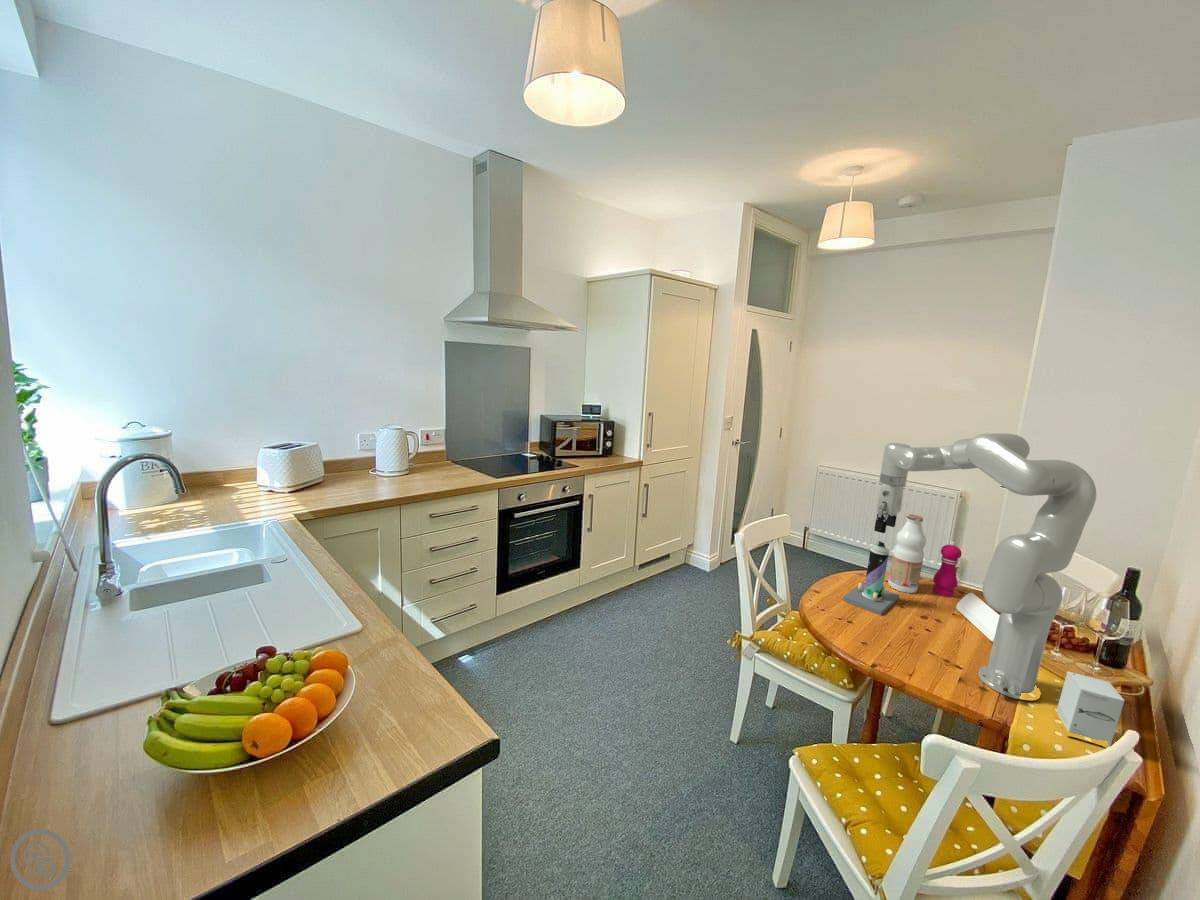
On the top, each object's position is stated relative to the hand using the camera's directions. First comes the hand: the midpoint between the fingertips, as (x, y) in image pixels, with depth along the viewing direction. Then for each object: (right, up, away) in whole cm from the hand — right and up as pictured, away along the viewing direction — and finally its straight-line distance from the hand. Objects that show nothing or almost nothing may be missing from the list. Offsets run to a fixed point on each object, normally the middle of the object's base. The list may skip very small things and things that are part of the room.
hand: (884, 528), depth 161 cm
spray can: (-1, -24, +5) cm, 25 cm away
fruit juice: (+16, -25, +16) cm, 33 cm away
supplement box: (+14, -38, -52) cm, 66 cm away
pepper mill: (+29, -26, +13) cm, 41 cm away
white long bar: (+27, -30, -9) cm, 42 cm away
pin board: (-2, -26, +5) cm, 26 cm away
